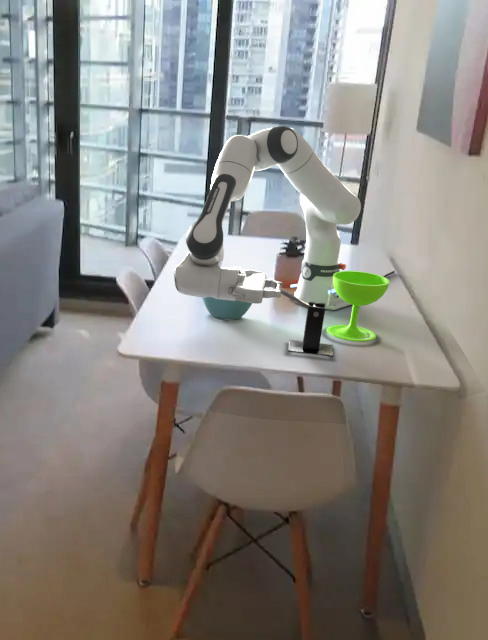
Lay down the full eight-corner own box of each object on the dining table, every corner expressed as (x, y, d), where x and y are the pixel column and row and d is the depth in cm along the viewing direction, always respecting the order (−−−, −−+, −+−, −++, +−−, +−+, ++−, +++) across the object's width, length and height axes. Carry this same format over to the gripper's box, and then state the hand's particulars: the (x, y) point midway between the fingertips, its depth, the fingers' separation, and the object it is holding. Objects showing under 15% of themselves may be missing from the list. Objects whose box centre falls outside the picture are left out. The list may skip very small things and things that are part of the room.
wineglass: (346, 348, 206) (357, 287, 199) (312, 330, 219) (321, 272, 212) (390, 342, 212) (401, 283, 205) (354, 325, 225) (364, 269, 218)
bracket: (287, 354, 199) (294, 307, 194) (288, 343, 207) (295, 298, 202) (332, 360, 197) (340, 312, 191) (331, 348, 205) (338, 302, 199)
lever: (273, 294, 195) (277, 287, 194) (274, 288, 200) (278, 281, 199) (318, 320, 195) (323, 313, 194) (317, 314, 200) (322, 307, 199)
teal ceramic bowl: (186, 311, 231) (189, 274, 226) (235, 306, 238) (239, 270, 233) (214, 329, 216) (218, 290, 211) (265, 324, 222) (270, 286, 218)
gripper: (228, 283, 189) (281, 288, 187) (235, 264, 208) (284, 269, 205) (226, 306, 192) (278, 311, 189) (233, 285, 210) (281, 290, 207)
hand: (281, 289), depth 197 cm, fingers open, 7 cm apart
